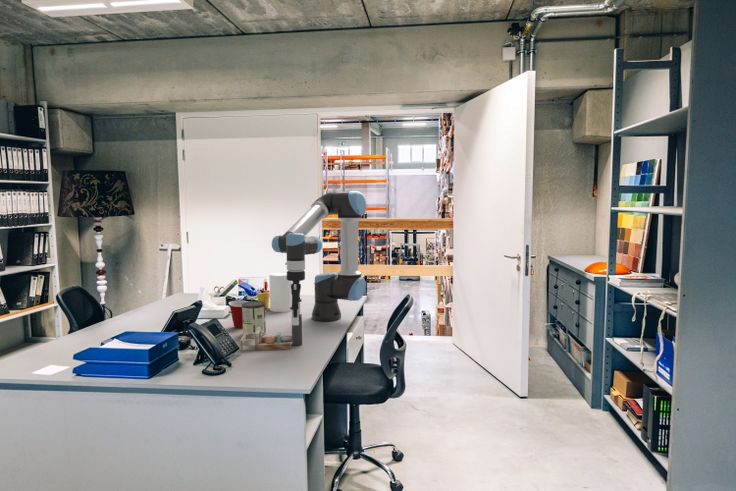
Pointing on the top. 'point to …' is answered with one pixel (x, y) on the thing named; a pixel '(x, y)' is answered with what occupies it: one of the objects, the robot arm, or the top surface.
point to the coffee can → (253, 317)
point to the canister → (280, 292)
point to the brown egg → (270, 340)
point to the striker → (293, 334)
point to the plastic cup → (237, 313)
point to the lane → (253, 339)
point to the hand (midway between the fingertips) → (296, 321)
